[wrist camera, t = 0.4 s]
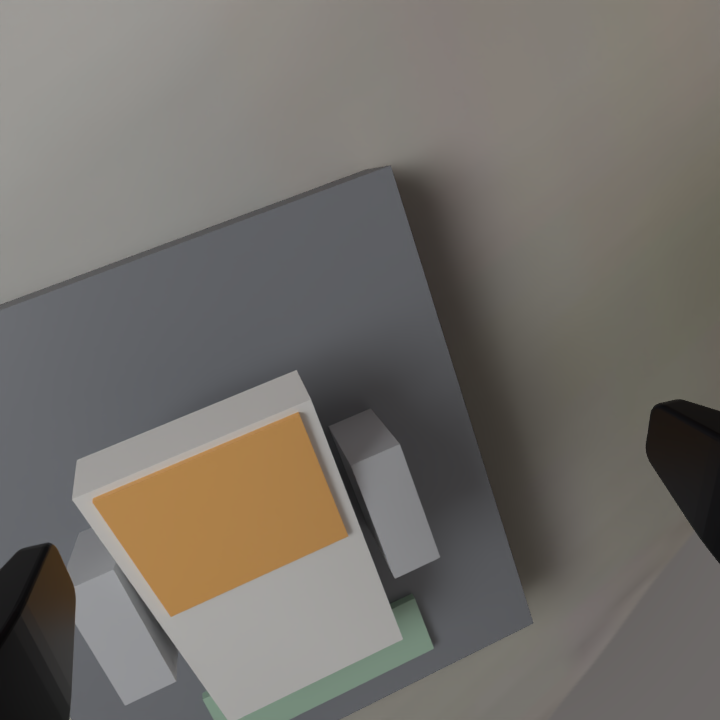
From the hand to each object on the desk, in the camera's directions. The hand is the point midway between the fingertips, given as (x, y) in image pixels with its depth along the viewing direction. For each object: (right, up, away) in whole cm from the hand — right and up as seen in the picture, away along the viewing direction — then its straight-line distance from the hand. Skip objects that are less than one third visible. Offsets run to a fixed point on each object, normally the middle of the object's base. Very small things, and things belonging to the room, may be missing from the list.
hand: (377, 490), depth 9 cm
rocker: (-3, -4, +9) cm, 10 cm away
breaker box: (-4, -3, +14) cm, 15 cm away
